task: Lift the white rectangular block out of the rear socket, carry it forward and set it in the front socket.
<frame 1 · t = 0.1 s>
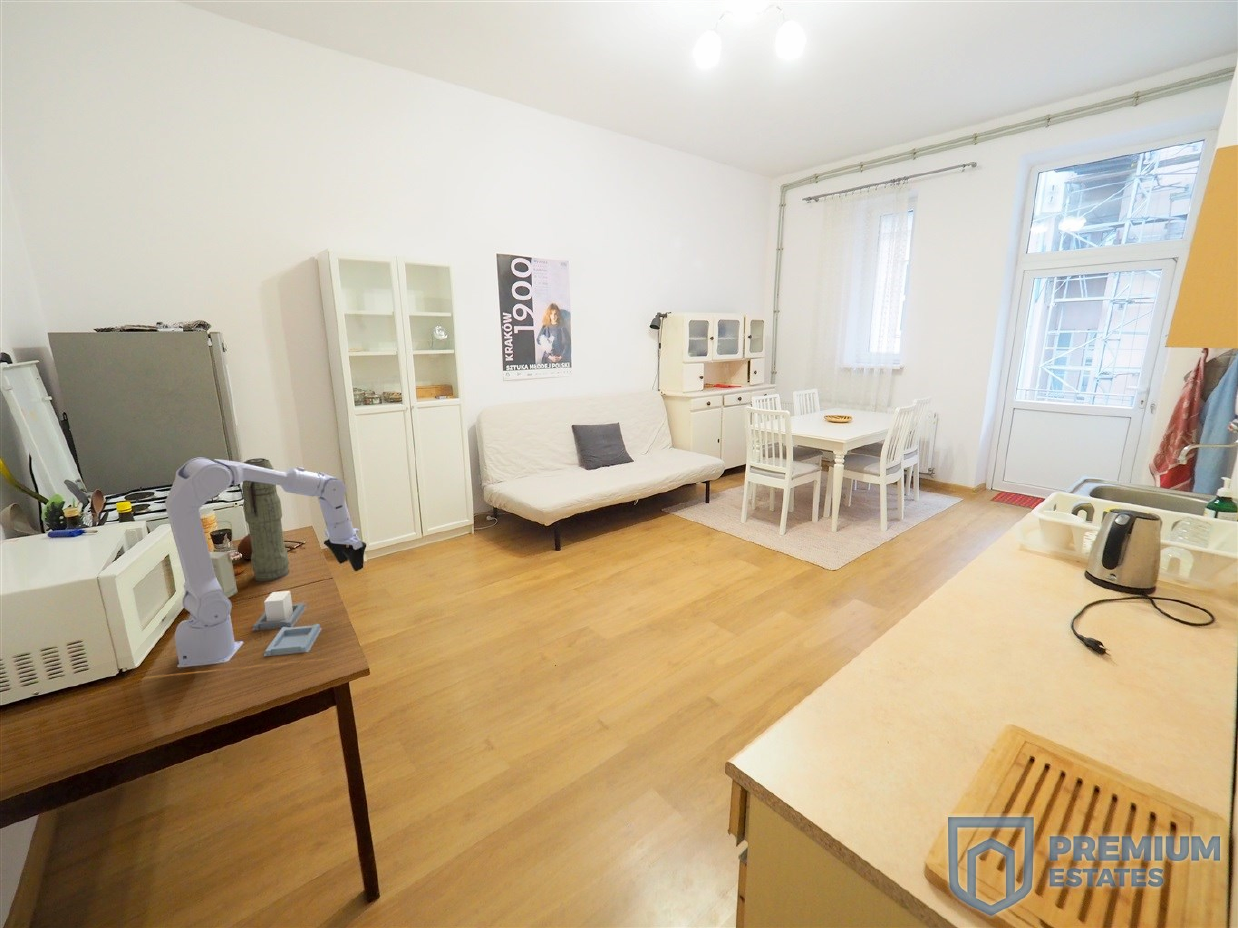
hand: (351, 565, 137), 11 cm above the table, tool pointing down, fingers open, 7 cm apart
skincare box: (221, 596, 141), on the table
white rectangular block: (280, 617, 130), resting on rear socket
grey rounded piece: (272, 575, 154), on the table
rear socket: (280, 619, 130), on the table
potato: (257, 556, 167), on the table
front socket: (294, 642, 120), on the table
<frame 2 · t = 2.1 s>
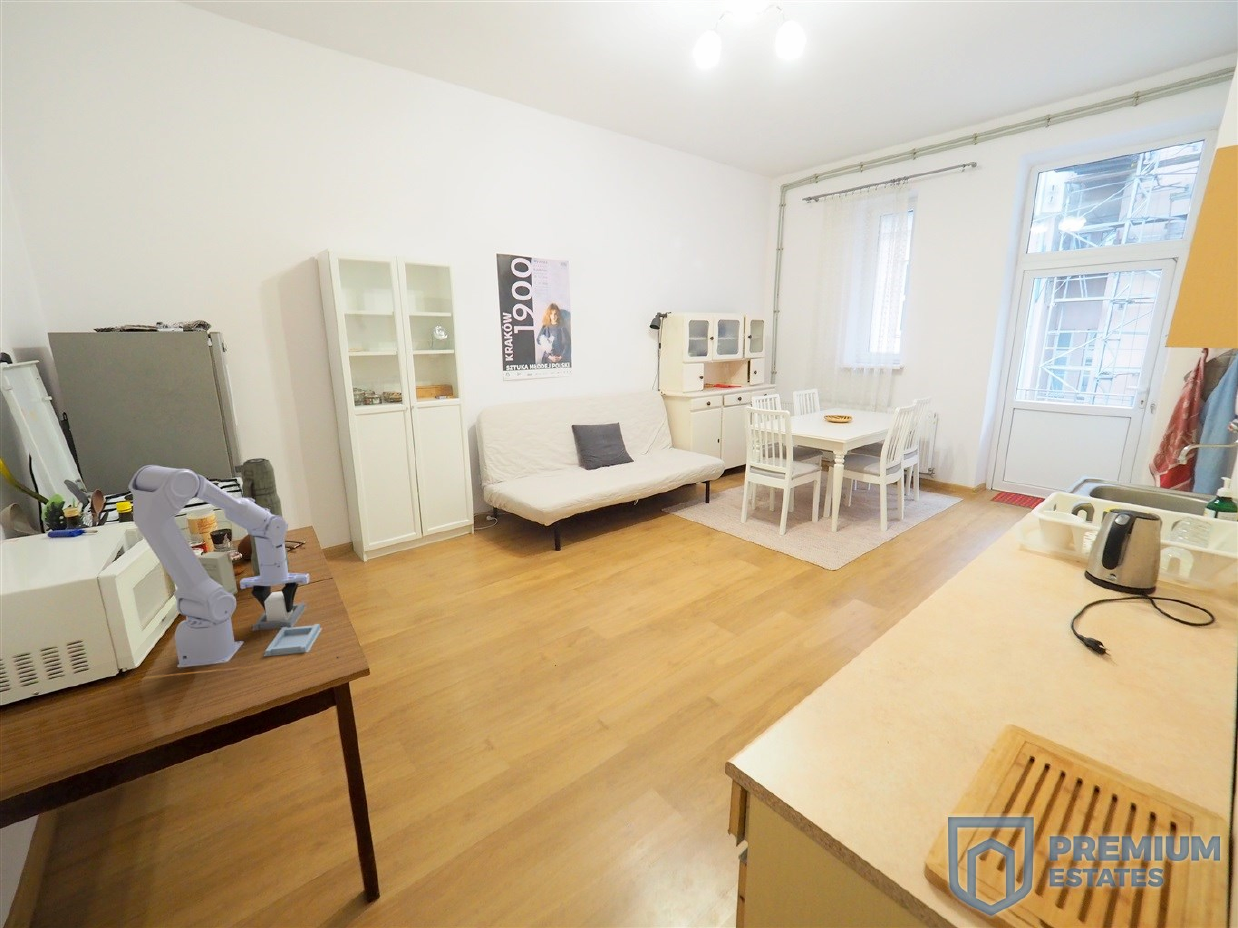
hand: (279, 611, 130), 2 cm above the table, tool pointing down, fingers closed on white rectangular block, 4 cm apart
white rectangular block: (280, 617, 130), resting on rear socket, touching gripper
everything else where it was.
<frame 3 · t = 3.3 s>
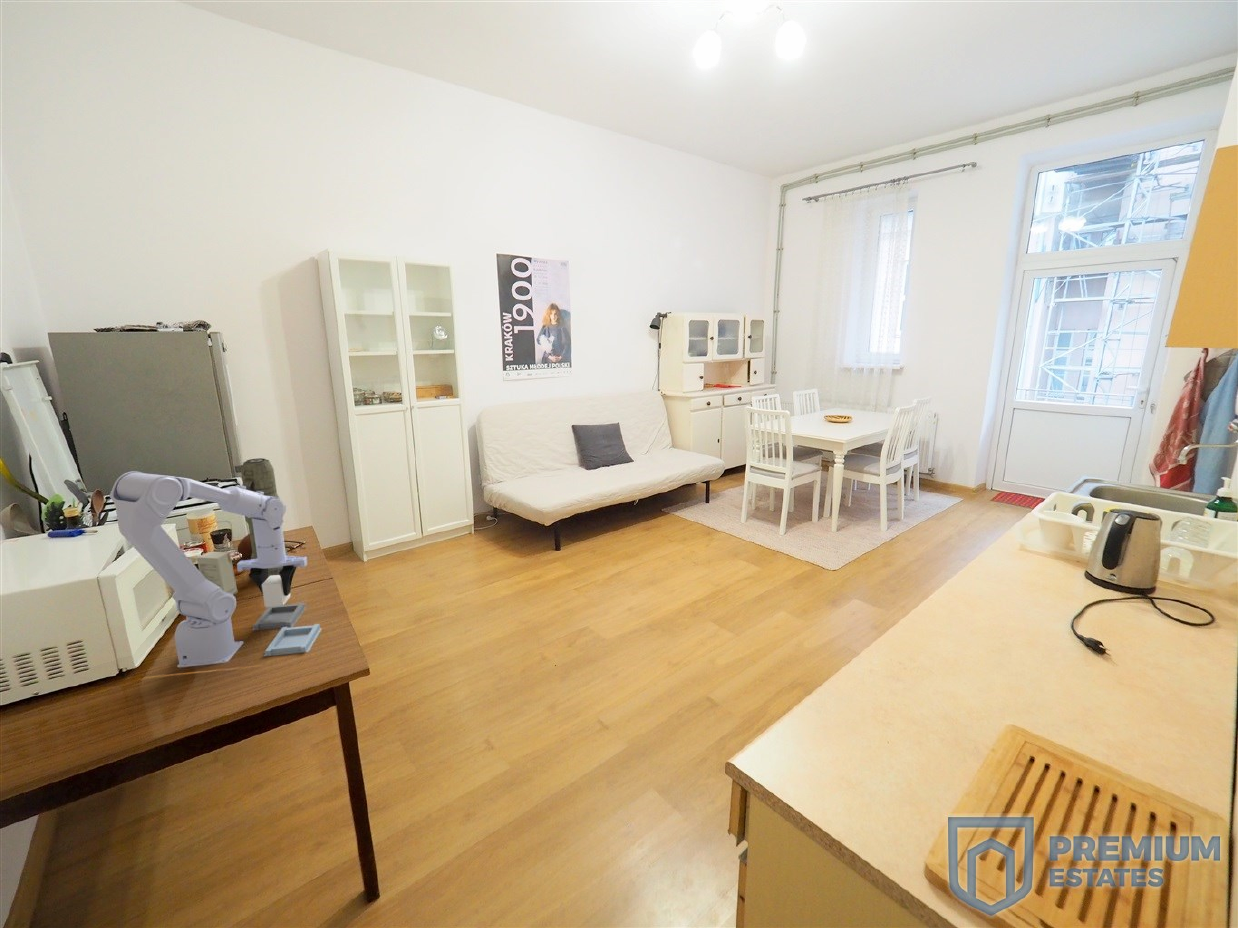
hand: (277, 594, 128), 7 cm above the table, tool pointing down, fingers closed on white rectangular block, 4 cm apart
white rectangular block: (278, 601, 129), point 5 cm above the table, touching gripper
everything else where it was.
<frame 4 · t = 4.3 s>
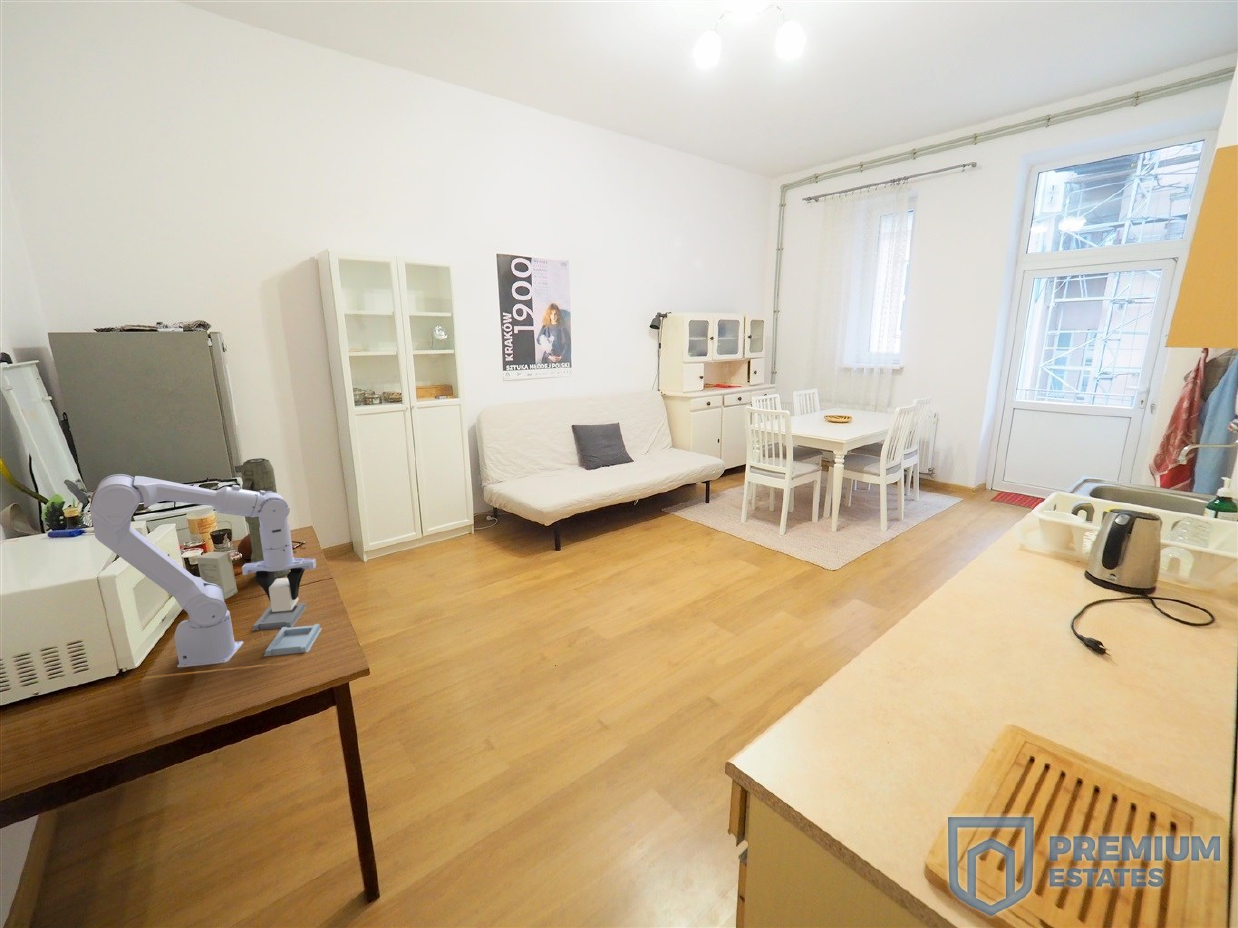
hand: (284, 598, 122), 9 cm above the table, tool pointing down, fingers closed on white rectangular block, 4 cm apart
white rectangular block: (285, 605, 122), point 7 cm above the table, touching gripper
everything else where it was.
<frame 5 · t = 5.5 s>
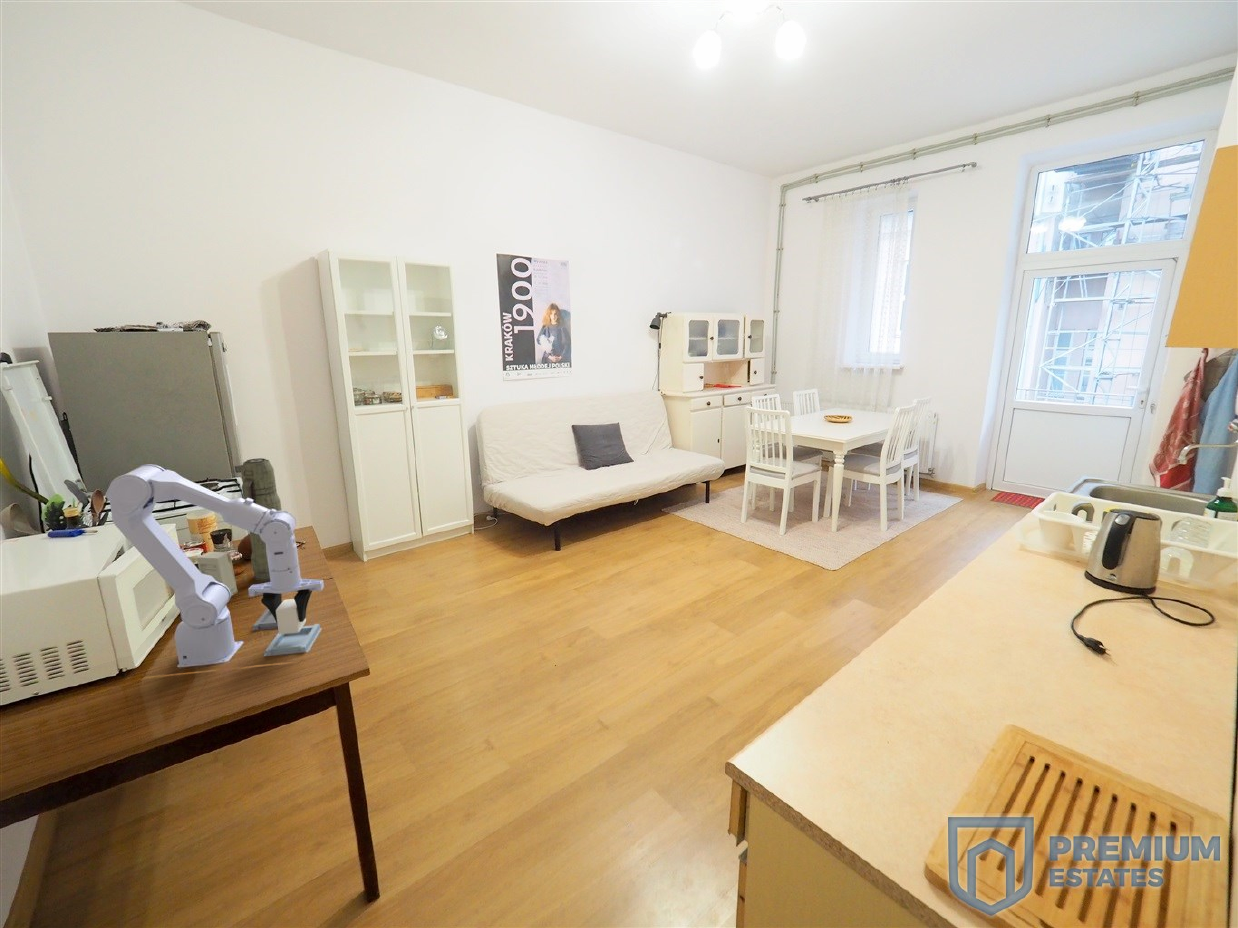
hand: (291, 620, 119), 6 cm above the table, tool pointing down, fingers closed on white rectangular block, 4 cm apart
white rectangular block: (292, 627, 120), point 4 cm above the table, touching gripper
everything else where it was.
when the fingers open (3 cm above the table, at t = 6.5 s): white rectangular block stays where it is, resting on front socket.
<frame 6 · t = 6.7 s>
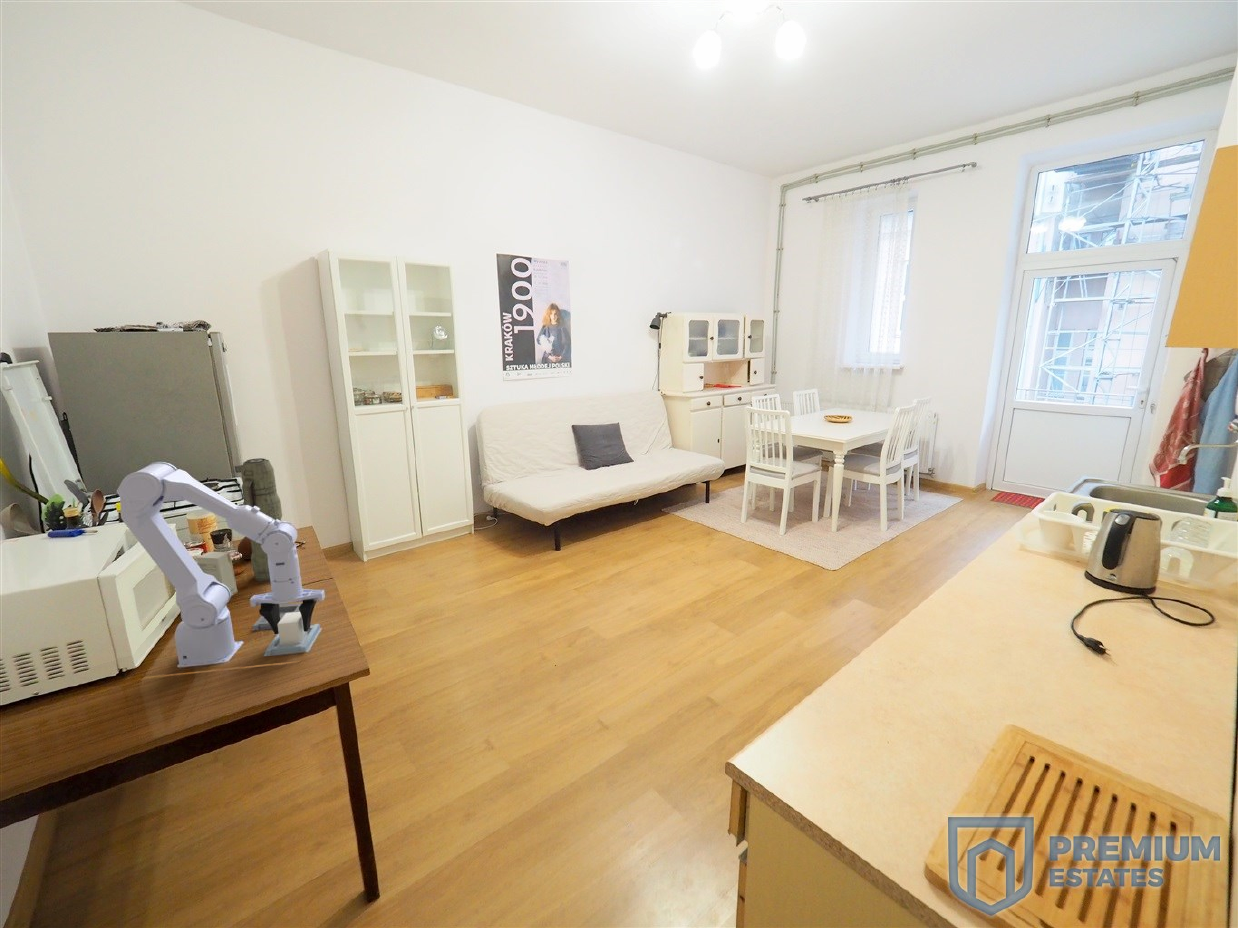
hand: (292, 630, 120), 3 cm above the table, tool pointing down, fingers open, 5 cm apart
white rectangular block: (294, 640, 120), resting on front socket
everything else where it was.
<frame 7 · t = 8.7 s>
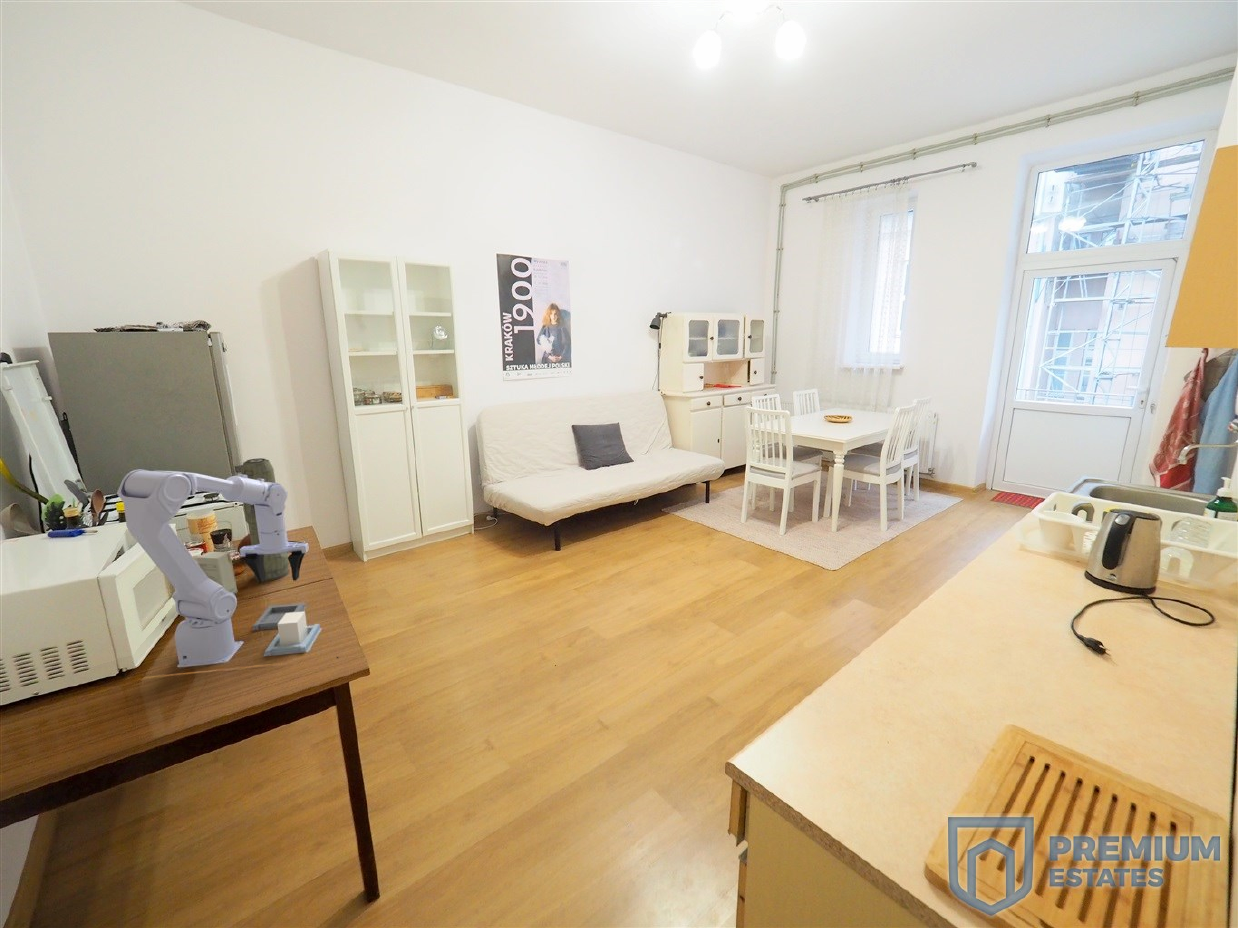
hand: (279, 580, 130), 9 cm above the table, tool pointing down, fingers open, 7 cm apart
nothing on the table moved.
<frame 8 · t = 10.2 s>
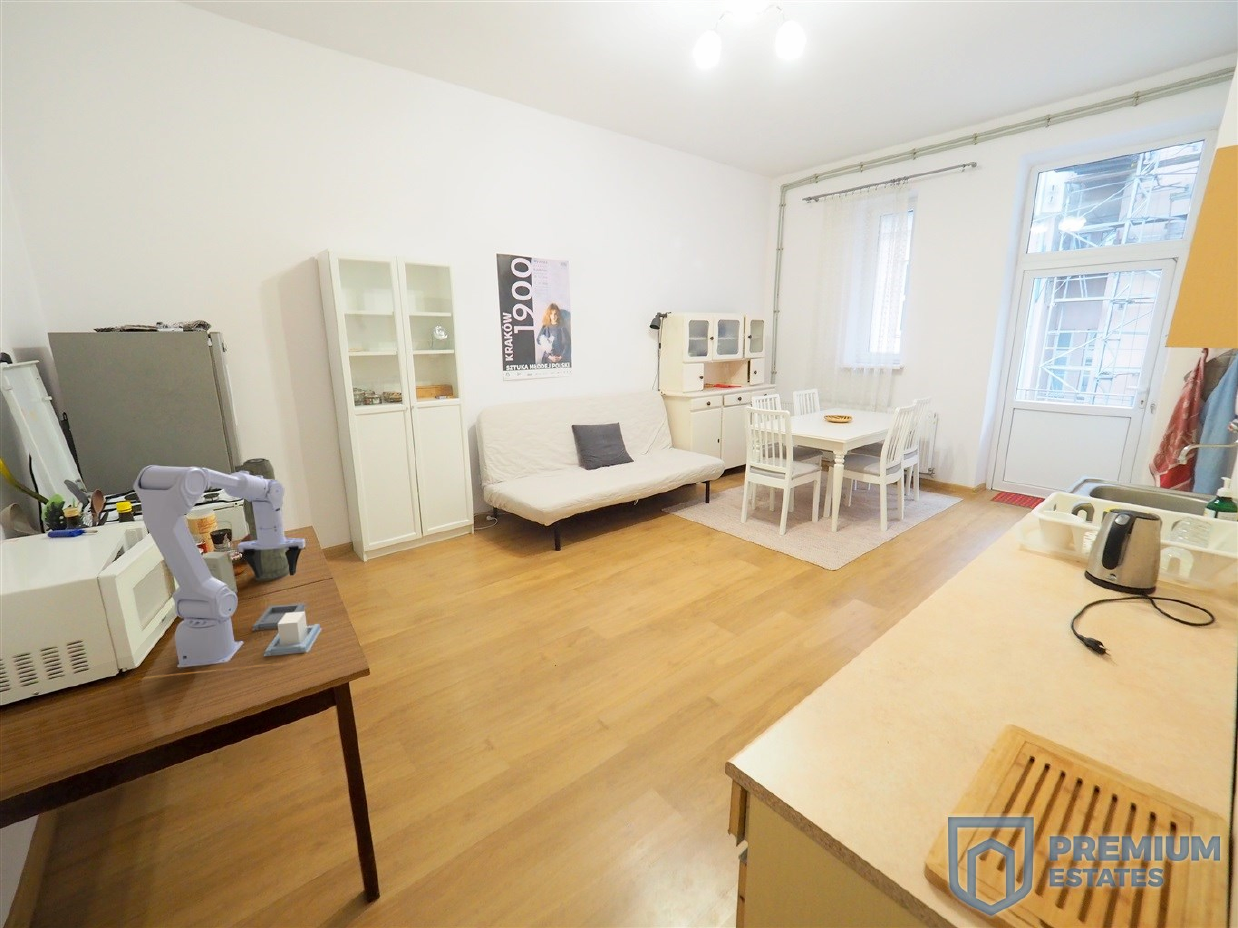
hand: (276, 575, 133), 9 cm above the table, tool pointing down, fingers open, 7 cm apart
nothing on the table moved.
at the end: white rectangular block 0.3 cm off-centre on the front socket, point 0.4 cm above the front socket's base; white rectangular block tilted 0°; the gripper is holding nothing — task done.
